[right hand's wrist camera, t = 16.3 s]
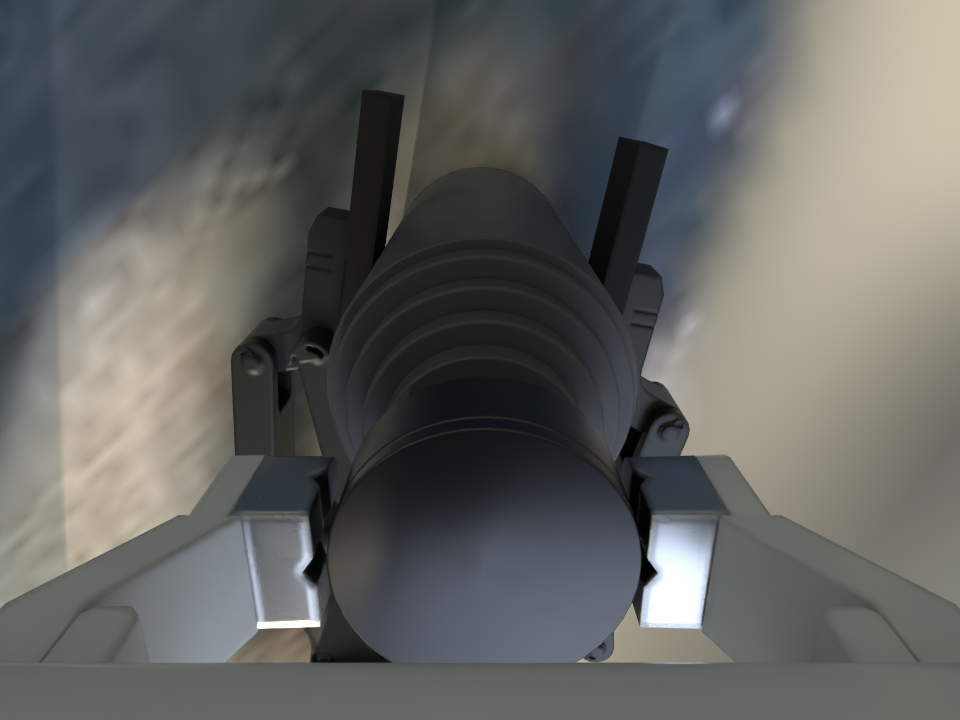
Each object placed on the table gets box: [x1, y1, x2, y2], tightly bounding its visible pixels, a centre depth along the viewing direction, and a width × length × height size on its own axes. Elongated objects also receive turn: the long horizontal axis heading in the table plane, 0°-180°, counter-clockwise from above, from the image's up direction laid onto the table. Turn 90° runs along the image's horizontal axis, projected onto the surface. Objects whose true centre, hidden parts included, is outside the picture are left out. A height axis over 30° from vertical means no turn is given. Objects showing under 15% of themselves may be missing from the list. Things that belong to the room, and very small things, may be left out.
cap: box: [327, 377, 642, 663], centre depth 9 cm, size 4×4×2 cm
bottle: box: [327, 167, 638, 464], centre depth 17 cm, size 6×6×18 cm
